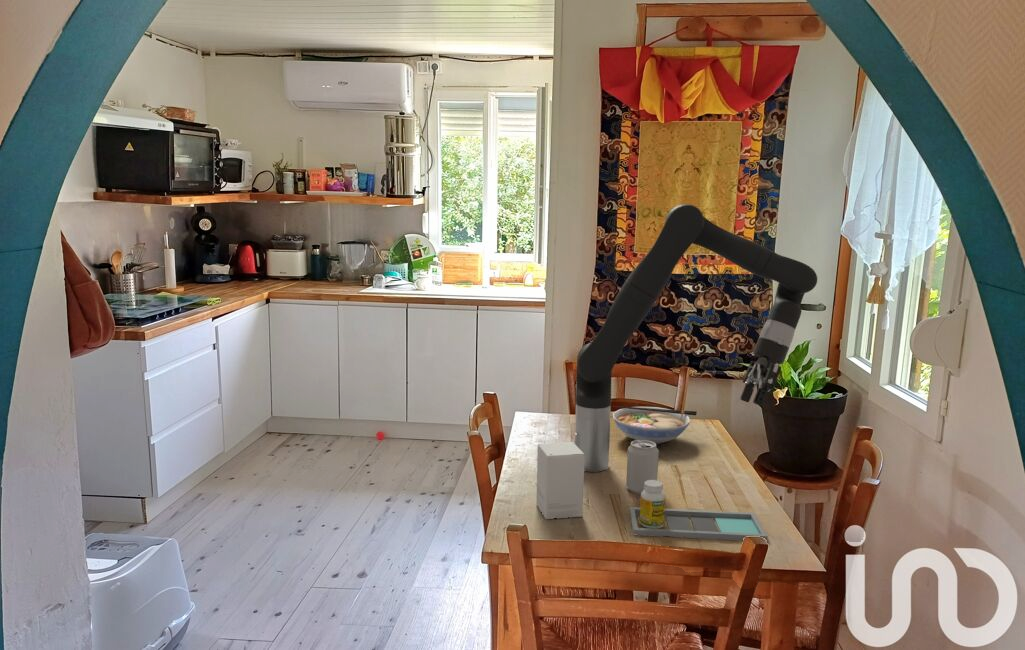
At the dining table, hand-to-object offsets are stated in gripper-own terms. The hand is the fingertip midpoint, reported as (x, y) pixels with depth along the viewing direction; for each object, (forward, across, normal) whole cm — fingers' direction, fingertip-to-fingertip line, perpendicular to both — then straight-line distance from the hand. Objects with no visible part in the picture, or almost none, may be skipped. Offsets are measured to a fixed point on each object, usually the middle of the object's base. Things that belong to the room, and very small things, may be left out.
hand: (750, 402), depth 186 cm
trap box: (+31, +18, -9) cm, 37 cm away
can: (+30, -2, -17) cm, 35 cm away
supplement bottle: (+34, +17, -17) cm, 42 cm away
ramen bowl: (+20, -40, -9) cm, 45 cm away
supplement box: (+40, +10, -36) cm, 55 cm away
